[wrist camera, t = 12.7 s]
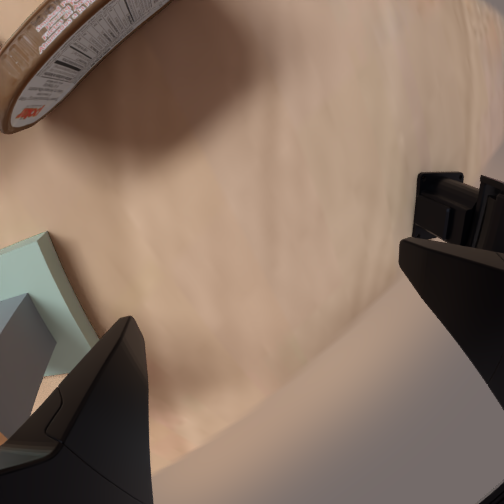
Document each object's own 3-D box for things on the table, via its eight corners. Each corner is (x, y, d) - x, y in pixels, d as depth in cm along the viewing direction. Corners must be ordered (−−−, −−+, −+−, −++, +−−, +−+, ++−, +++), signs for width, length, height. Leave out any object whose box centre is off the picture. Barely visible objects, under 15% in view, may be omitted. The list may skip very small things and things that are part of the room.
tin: (179, -34, 13) (181, -101, 6) (206, -10, 14) (222, -74, 7) (20, 110, 15) (-52, 115, 7) (44, 137, 16) (-25, 152, 9)
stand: (47, 230, 19) (36, 241, 17) (106, 352, 24) (103, 367, 22) (-41, 268, 17) (-51, 278, 16) (17, 366, 23) (11, 379, 21)
